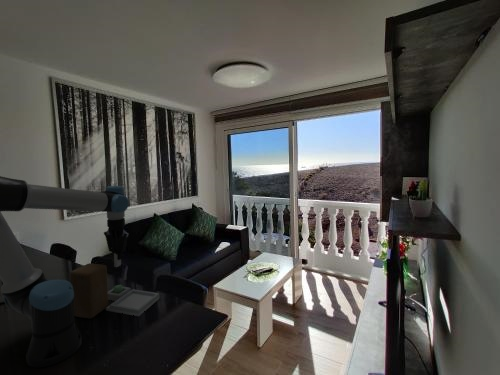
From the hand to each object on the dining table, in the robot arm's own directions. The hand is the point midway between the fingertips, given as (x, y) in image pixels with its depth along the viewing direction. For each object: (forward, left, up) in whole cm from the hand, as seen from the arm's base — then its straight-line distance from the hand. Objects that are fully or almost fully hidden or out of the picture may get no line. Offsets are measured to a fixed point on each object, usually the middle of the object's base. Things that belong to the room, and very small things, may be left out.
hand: (117, 265), depth 122 cm
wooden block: (-14, +2, -16) cm, 21 cm away
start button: (0, 0, -14) cm, 14 cm away
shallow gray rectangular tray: (-4, -12, -16) cm, 20 cm away
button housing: (0, 0, -16) cm, 16 cm away
